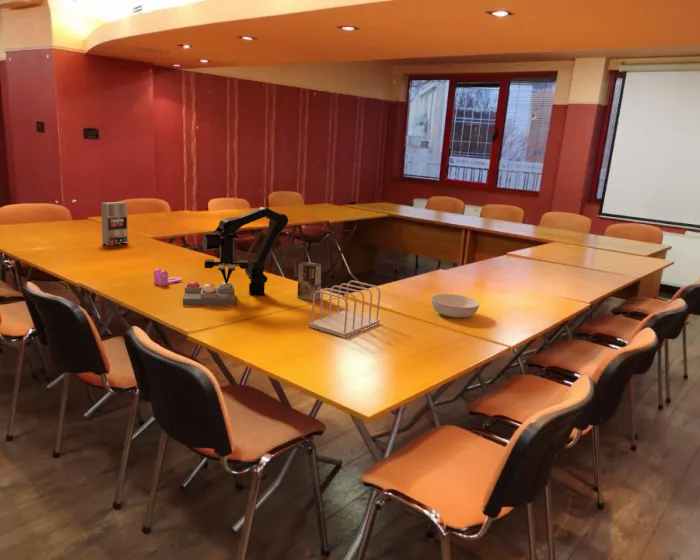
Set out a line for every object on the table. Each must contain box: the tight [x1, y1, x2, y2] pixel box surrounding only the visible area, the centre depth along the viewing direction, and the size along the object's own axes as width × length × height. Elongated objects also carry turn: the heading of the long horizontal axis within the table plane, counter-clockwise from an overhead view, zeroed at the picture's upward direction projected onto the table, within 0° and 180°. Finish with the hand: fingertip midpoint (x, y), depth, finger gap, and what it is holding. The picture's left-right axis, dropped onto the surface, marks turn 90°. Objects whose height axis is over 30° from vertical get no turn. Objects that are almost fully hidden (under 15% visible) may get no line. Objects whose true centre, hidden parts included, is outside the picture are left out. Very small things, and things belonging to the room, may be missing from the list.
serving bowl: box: [430, 293, 480, 318], centre depth 247 cm, size 21×21×7 cm
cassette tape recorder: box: [100, 201, 129, 246], centre depth 337 cm, size 14×6×25 cm, turn 147°
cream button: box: [203, 283, 216, 293], centre depth 237 cm, size 4×4×3 cm
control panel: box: [182, 283, 236, 307], centre depth 242 cm, size 21×17×5 cm
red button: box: [187, 280, 200, 288], centre depth 244 cm, size 4×4×3 cm
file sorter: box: [308, 280, 381, 338], centre depth 221 cm, size 25×17×16 cm
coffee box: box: [297, 261, 323, 302], centre depth 255 cm, size 9×6×16 cm
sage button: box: [220, 281, 232, 288], centre depth 247 cm, size 4×4×3 cm
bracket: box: [153, 268, 183, 286], centre depth 265 cm, size 13×6×7 cm, turn 145°
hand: (226, 283), depth 247 cm, fingers closed, pressing on sage button
